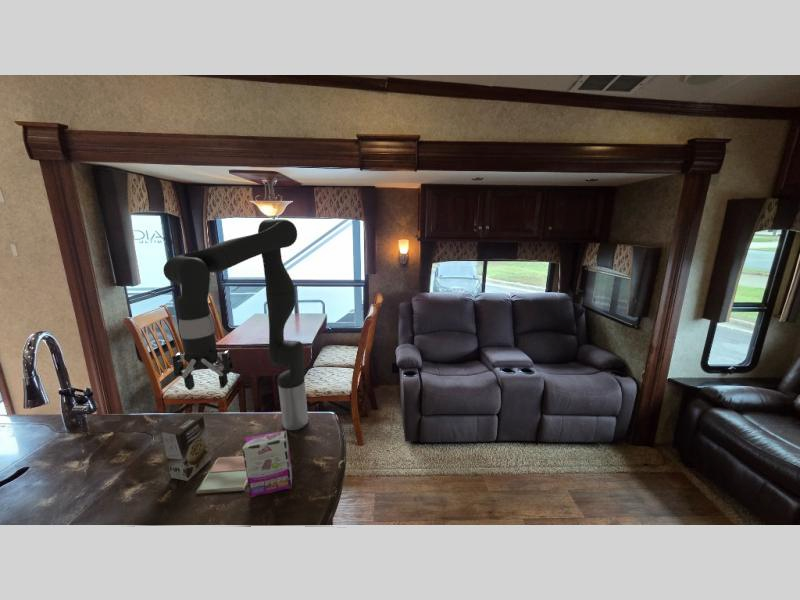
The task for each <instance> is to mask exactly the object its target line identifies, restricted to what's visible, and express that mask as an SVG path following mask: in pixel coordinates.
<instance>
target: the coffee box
mask: <svg viewBox="0 0 800 600" xmlns="http://www.w3.org/2000/svg"><path fill="white" fill-rule="evenodd" d="M204 419H205V418H204V416H203V415H193V414H185V415H184V416H182V417H181V418H180V419H178V420H176V421H175V422H174V423H172V424H171V425H170V426H169V427H166V428H165V429H164V430H162V431H161V436H162V441H163V444H164V445H163V447H164V449H165V454H166V459H167V464H168V469H169V474H170V477H171V478H172V479H175V480H176V479H177V480H179V481H180V480H182V481H186V482H188V481H190V480H191V479H192V478H193V477H194V476H195V475H196V474H197V473H198V472H199V471H200V470H201V469H203V467H205V466H206V465H207V464H208V463H209V462H210V461H212V457H211V452H210V447H209V442H208V441H209V440H208V435H207V430H206V425H205V420H204Z"/></svg>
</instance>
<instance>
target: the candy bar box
mask: <svg viewBox="0 0 800 600" xmlns="http://www.w3.org/2000/svg"><path fill="white" fill-rule="evenodd" d="M287 431H288V430H287V429H284V430H279V431H274V432H269V433H264V434H259V435H258V434H257V435H254V436H248V437H245V439H244V442H243V446H242V456H244V462H245V468H246V474H247V479H248V483H247V486H248V490H249V496H250V498H255V497H259V496H265V495H268V494H273V493H277V492H280V491H284V490H290V489H292V481H293V472H292V463H291V455H290V448H289V447H290V446H289V439H288V432H287Z"/></svg>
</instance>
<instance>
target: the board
mask: <svg viewBox="0 0 800 600" xmlns="http://www.w3.org/2000/svg"><path fill="white" fill-rule="evenodd" d="M247 486H248V479H247V474H246V468H245V462H244V456H243V455H239V456H222V457H220V456H219V457H217V459H216V460H215V462H214V463H213V465H212V466H211V468H210V470H209V471H208V473H207V474H206V476H205V477H204V479H203V480H202V482H201V484H200V485H199V487H198V488H197V490H196V491H195V492H196V494H198V495H199V494H211V493H213V494H214V493H226V492H227V493H228V492H238V491H239V492H241V491H245V489H246V487H247Z"/></svg>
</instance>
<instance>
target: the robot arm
mask: <svg viewBox="0 0 800 600" xmlns="http://www.w3.org/2000/svg"><path fill="white" fill-rule="evenodd" d="M297 238H298V230H297V227H296V225H295V224H294V223H293V222H292V221H290V220H288V219H285V218H273V219H271V218H269V219H263V220H262V221H261V222H260V223H259V224H258V229H257V233H254V234H249V235H244V236H240V237H235V238H231V239H228V240H224V241H222V242H219V243H216V244H214V245H211V246H209V247H207V248H204V249H200V250H199V249H198V250H195V251H189V252H185V253H182V254H178V255H176V256H174V257H173V256H172V257H171V258H169V259H168V260H167V261H166V263H165V264H164V266H163V274H164V276H165V277H166V279H167V280H168V281H169V282H172V283H174V284H177V285H181V294H180V295H178V296H177V297H176V299H175V307H176V313H177V317H178V329H179V334H180V339H181V344H182V349H183V353H182V352H181V351H179V352H177V353H175V354H174V355H173V356H172V357H171V358H172V360H171V361H172V367H173V375H174V376H175V377H182V378H183V382H184V387H185V388H187V390H188V391H189V390H190V391H191V390H192V389H194V388H195V380H194V374H192V373H193V371H194V369H195V370H200V369H203V370H211V371H212V372H215V373H216V374H217V375H218V381H219V388H220V389H224V388H225V387H226V386H227V385H228V382H229V379H228V378H229V377H228V374H230V373H231V372H232V371H233V370H234V363H233V360H232V354H231V350H229V349H226V350H225V351H220V352H219V351H218V348H217V341H216V334H215V327H214V323H213V319H212V317H211V311H210V305H209V294H210V285H211V284H210V283H211V276H210V275H211V274H210V273H220V272H223V271H226V270H228V269H230V268H232V267H234V266H237V265H238V264H241V263H243V262H245V261H247V260H250V259H253V258H255V257H257V256H261V257H262V264H263V274H264V282H265V298H266V304H267V305H266V306H267V313H268V315H267V317H268V336H269V337H268V344H269V345H268V353H269V360H270V363H271V364H272V365H273V366H278V367H285V368H286V367H289V369H288V370H286V371H283V372H282V373H280V374H279V375H278V377H277V387H278V394H279V396H278V397H279V403H280V413H281V420H282V421H281V422H282V427H283V428H284V430H286V431H298V430H300V429H302V428H304V427H306V425H307V424H308V422H309V415H308V404H307V402H308V401H307V392H306V391H307V390H306V383H305V373H306V371H305V370H306V369H305V348H304V345H303V343H302V341H300V340H288V339H287V340H285V338H284V337H285V336H284V335H285V333H284V331H285V326H286V324H287V322H288V320H289V318H290V316H292V314H293V311H294V309H295V306H296V292H295V285H294V282H293V280H292V278H291V276H290V274H289V272H288V271H287V268H286V267H285V265H284V263H283V258H282V249H285V248H288V247H291V246H292V245H294V244H295V243H296V241H297ZM218 358H220V359H218ZM184 360H185V362H187V363H188V365H187V366H186V368H185V366H184ZM221 361H222V362H221Z"/></svg>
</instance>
